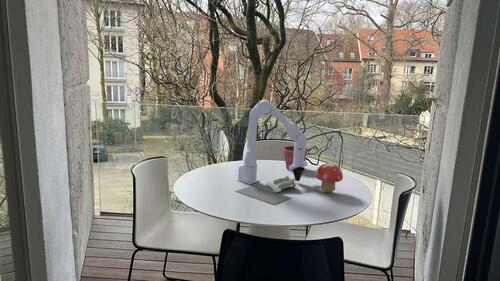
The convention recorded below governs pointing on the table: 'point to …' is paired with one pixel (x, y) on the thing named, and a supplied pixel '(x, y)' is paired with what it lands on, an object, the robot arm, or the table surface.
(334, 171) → the decorative mushroom
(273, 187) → the metal bracket
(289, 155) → the plant pot
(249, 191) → the rubber mat
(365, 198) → the table surface
